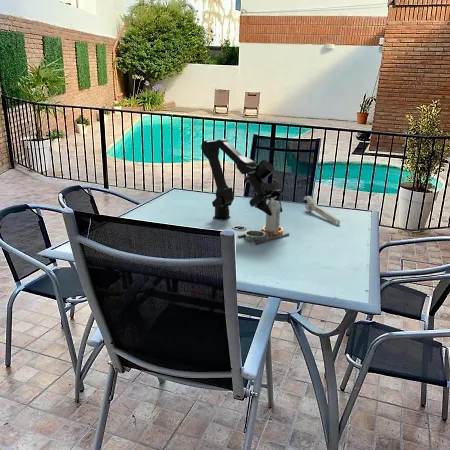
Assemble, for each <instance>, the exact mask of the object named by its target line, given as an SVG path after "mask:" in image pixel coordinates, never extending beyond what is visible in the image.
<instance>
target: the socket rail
mask: <svg viewBox="0 0 450 450" xmlns="http://www.w3.org/2000/svg"><path fill="white" fill-rule="evenodd" d="M288 236H290V232H285V233H284V228H283V227H281V226H279V231H268V230H266V225H263V227H262V228H260V229H248V230H245V231H244V232H243V233H241V234H237V238H238V239H242V238H243V239H244V241H246V242H249V243H253V244H254V245H255V246H259V245H262V244H265V243H268V242H272V241H276V240H278V239H281V238H285V237H288ZM241 237H242V238H241Z"/></svg>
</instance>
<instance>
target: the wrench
mask: <svg viewBox="0 0 450 450" xmlns="http://www.w3.org/2000/svg"><path fill="white" fill-rule="evenodd" d="M303 200H304V201H305V200H306V201H307V204H305V205H304V207H305V209H306V210H307V213H310V214H311V213H312V212H315V213H317V214H318V215H319V216H321V217H322V218H324V219H326V220H327V221H328V222H330V223H331V224H333V225H334V224H336V225H335V226H339V225H340V224H341V221H340V218H337V217H335V216H334V215H332V214H331V213H330V212H327V211H326V210H324V208H322V207H320V206H319V205H317V204H316V202H315V200H313V197H312V196H311V195H306V196H304V197H303Z"/></svg>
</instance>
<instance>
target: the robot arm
mask: <svg viewBox="0 0 450 450" xmlns="http://www.w3.org/2000/svg"><path fill="white" fill-rule="evenodd" d="M200 148H201V149H200V150H201V151H202V153H203V155H204V157H205V158H206V159H207V160H208V163H209V166H210V169H211V173H212V176H213V179H214V183H215V187H216V190H215V197H216V198H215V199H214V200H212V202H211V203H212V208H214V216H212V219H214V220H220V221H225V220H229V219H230V218H231V216H230V206H232V204H233V202H234V199H235V193H234V189H233V187H229V186H228V185H227V182H226V179H225V176H224V175H225V174H224V172H223V168H222V165H221V162H220V157H219V155H220V150H221V152H223V153H224V154H225V155H226V156H227V157H228V158H229V159H230V160H232V161H233V162H234V164H235V166H236V168H237V170H238V171H239V173H240V174H241V175H245V178H244V183H248V182H249V184H250V185H251V187H252V188H253V190H252V193H255V195H254V196H253V197H252V198H251V199H249V206H250V207H251V208H256V209H258V210H260V211H262V212H263V213H265V214H268V215H269V216H271V215H272V213H271V211H270V209H269V207H268V205H267V204H268V202H267V200H269V201H270V200H277V201H279V203H280V205H281V207H280V213H283V207H282V204H281V198H282V197H283V194H284V193H285V192H284V191H283V190H282V189H280V187H281V185H282V184H281V182H280V181H279V180H278V179H275V180H273V181H272V182H270V183H268V182H267V181H266V182H265V179H267V178H268V177H269V176H270V175H272V173H273V172H274V171H275V167H274V165H273V164H272V163H271V162H269V161H267V159H262V160H261V161H260V163H259V164H257V163H256V162H255V161H254V160H252V159H251V158H249V157H248V156H247V157H246V156H244V155H243V154H241V152H239V151H238V150H237V148H235V147H234V146H233V145H232V144H231V143H230V142H229V141H228V140H227V139H226V138H221V139H218V140H215V139H211V140H204V141H202V143H201V144H200ZM248 174H249V175H248Z"/></svg>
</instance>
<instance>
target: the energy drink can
mask: <svg viewBox="0 0 450 450" xmlns="http://www.w3.org/2000/svg"><path fill="white" fill-rule="evenodd" d="M267 205H268V207H269V209H270V211H271V213H272V215H271V216H269V215H268V214H266V213H265V214H266V216H265V217H266V218H265V226H266V230H268V231H279V227H280V219H281V212H280V207H281V206H282V204H281V205H280V203H279V201H277V200H270V199H269V200H268V202H267Z"/></svg>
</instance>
